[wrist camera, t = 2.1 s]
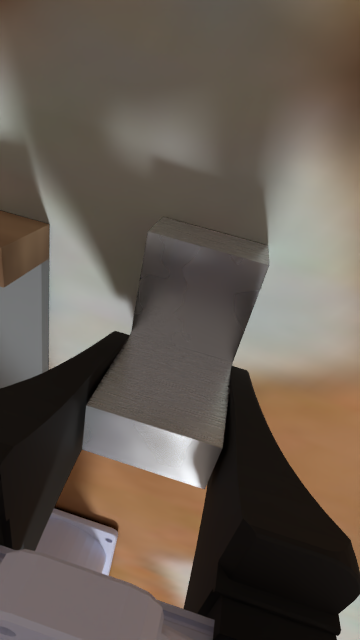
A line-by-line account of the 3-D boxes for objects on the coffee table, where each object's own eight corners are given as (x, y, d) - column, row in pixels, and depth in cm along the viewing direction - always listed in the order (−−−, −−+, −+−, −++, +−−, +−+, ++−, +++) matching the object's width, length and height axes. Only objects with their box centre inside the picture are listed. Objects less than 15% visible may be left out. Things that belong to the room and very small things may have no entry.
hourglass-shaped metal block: (223, 369, 16) (204, 489, 11) (139, 344, 16) (82, 449, 11) (268, 245, 12) (273, 331, 7) (162, 216, 13) (97, 280, 8)
